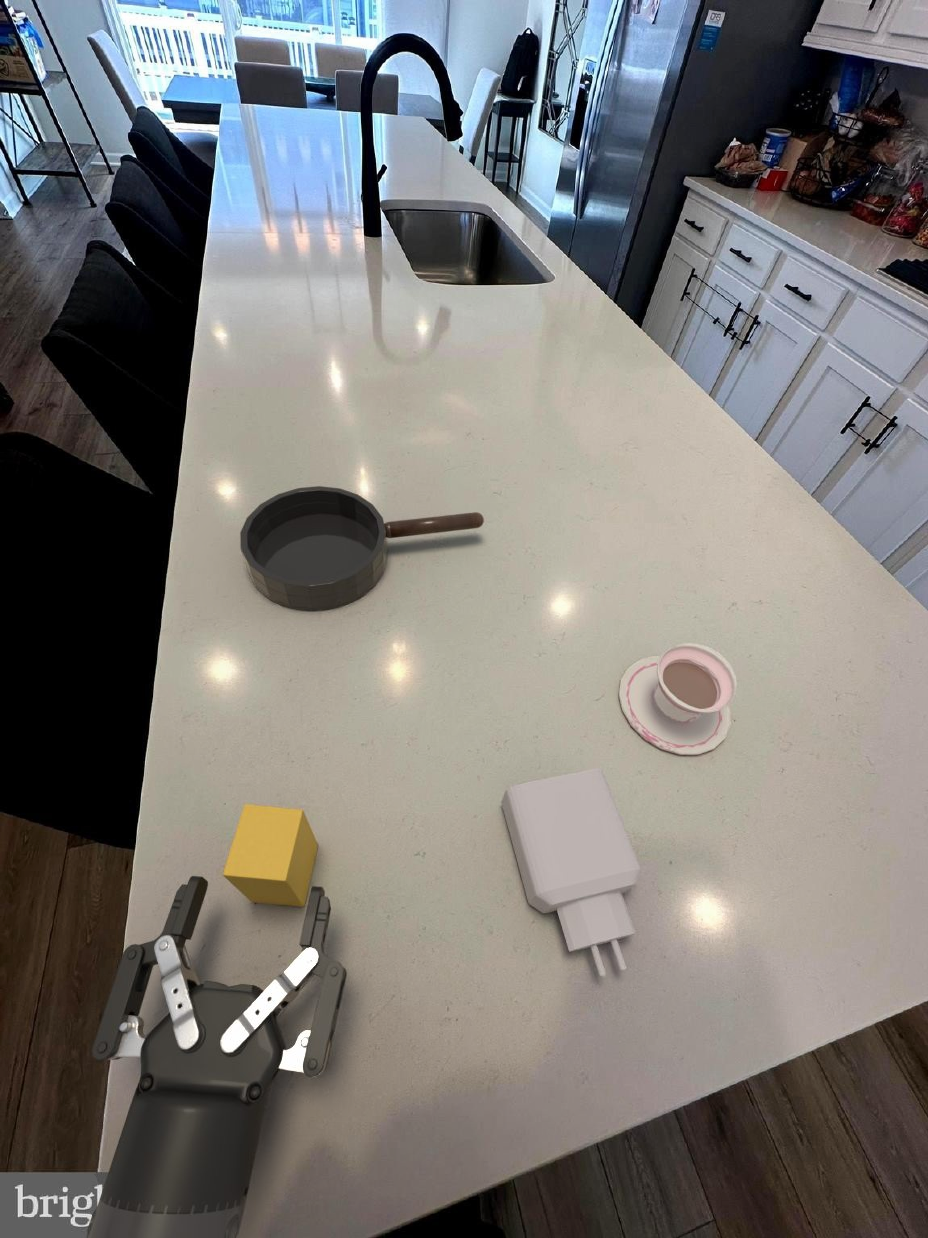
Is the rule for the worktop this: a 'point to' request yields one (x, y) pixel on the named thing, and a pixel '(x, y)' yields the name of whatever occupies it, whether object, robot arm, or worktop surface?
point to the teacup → (680, 698)
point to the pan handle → (433, 525)
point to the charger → (574, 857)
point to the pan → (314, 548)
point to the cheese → (272, 855)
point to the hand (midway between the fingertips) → (260, 883)
